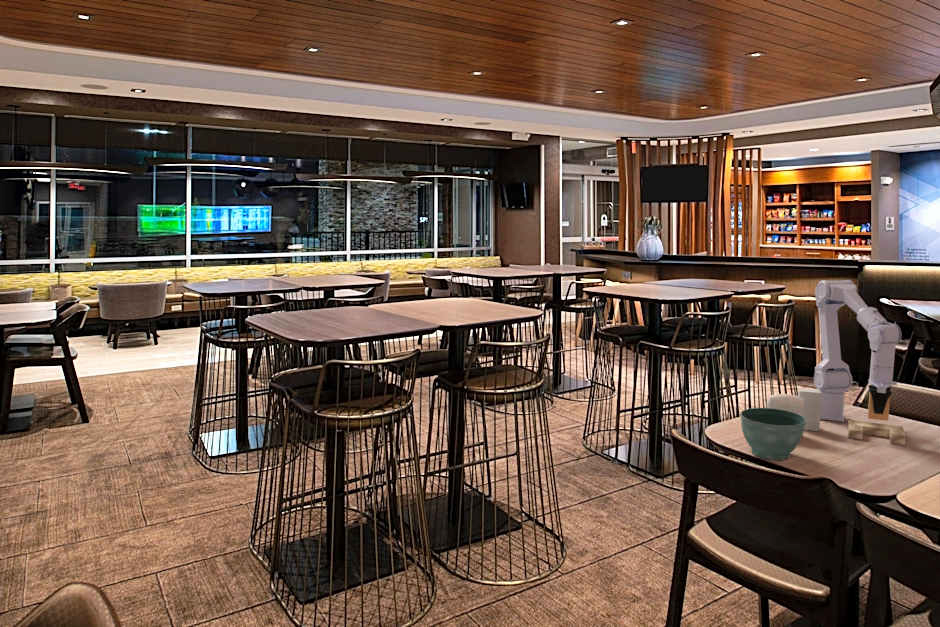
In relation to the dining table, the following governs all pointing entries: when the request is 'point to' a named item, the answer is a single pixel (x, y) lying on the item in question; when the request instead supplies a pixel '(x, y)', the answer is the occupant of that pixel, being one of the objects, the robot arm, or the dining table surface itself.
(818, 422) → the skincare box
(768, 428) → the green bowl
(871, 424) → the notched board
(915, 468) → the dining table surface
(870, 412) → the orange brown rectangular block
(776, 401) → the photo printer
